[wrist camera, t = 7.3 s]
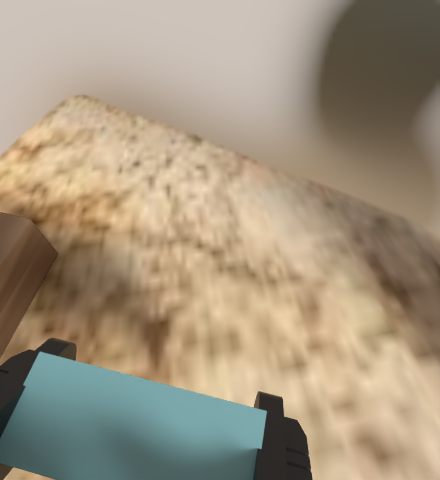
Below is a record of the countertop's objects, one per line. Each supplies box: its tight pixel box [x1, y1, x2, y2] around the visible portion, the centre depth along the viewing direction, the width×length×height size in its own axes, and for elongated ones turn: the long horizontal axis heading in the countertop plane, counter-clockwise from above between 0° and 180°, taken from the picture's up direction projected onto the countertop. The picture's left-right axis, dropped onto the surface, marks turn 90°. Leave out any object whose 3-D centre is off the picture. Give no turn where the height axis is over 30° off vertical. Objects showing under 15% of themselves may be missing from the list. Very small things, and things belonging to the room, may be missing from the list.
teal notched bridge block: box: [0, 352, 267, 480], centre depth 11 cm, size 6×2×8 cm, turn 77°
